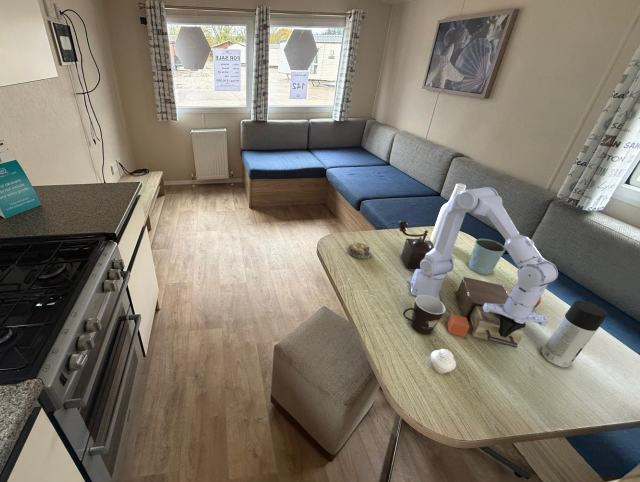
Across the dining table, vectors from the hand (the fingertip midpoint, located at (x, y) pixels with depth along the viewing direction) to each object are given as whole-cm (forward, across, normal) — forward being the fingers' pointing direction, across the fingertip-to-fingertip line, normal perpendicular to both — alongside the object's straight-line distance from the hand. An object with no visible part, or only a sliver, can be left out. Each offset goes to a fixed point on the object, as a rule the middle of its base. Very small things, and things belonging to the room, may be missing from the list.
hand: (502, 334), depth 92 cm
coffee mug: (+6, -22, +1) cm, 23 cm away
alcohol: (+6, -7, +64) cm, 64 cm away
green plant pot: (+6, +6, +47) cm, 47 cm away
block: (+6, -10, +4) cm, 12 cm away
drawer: (+5, 0, +6) cm, 8 cm away
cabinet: (+6, 0, +18) cm, 18 cm away
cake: (+6, -43, +38) cm, 58 cm away
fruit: (+6, +15, +26) cm, 31 cm away
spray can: (+6, +16, +2) cm, 17 cm away
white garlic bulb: (+6, -17, -14) cm, 23 cm away
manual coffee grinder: (+6, -22, +40) cm, 46 cm away
